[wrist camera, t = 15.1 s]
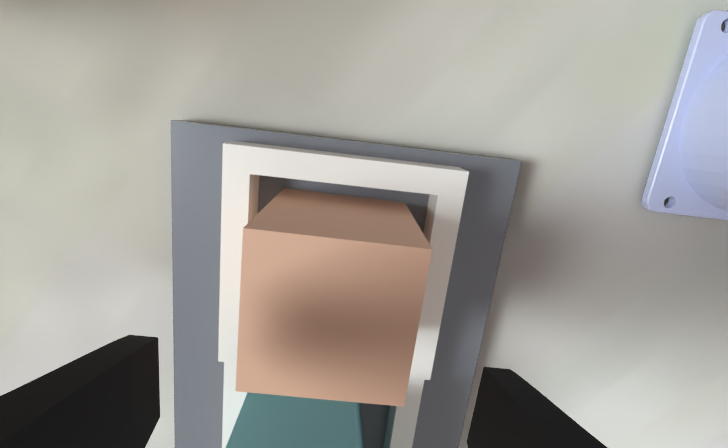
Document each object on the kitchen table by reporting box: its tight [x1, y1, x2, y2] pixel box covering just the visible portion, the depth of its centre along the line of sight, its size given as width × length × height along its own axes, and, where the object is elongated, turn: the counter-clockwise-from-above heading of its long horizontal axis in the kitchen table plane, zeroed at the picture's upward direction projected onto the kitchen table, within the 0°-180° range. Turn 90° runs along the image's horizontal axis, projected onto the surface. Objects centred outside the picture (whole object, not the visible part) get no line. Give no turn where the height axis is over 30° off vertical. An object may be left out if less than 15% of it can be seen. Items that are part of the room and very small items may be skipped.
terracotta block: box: [236, 188, 432, 407], centre depth 14 cm, size 5×5×6 cm
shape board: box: [171, 120, 521, 448], centre depth 18 cm, size 14×21×2 cm, turn 173°
